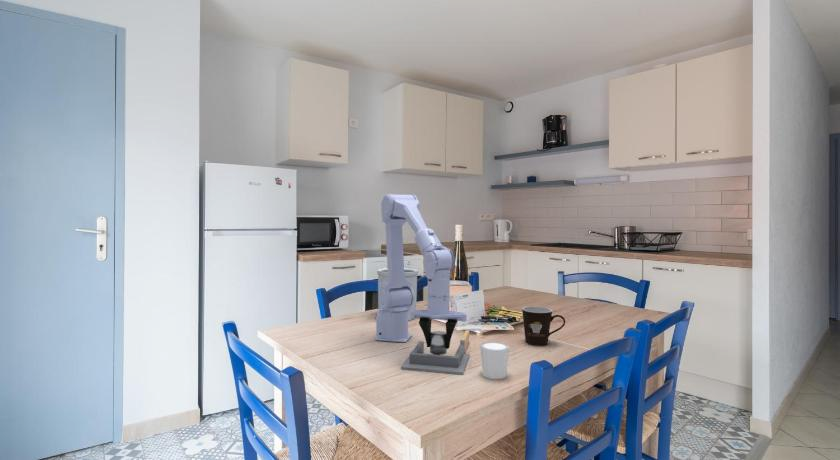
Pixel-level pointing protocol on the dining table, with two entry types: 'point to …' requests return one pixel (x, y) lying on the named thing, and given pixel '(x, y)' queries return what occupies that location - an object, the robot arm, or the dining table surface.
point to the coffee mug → (538, 324)
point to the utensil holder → (409, 275)
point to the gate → (465, 339)
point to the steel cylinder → (438, 343)
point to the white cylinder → (494, 359)
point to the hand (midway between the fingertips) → (438, 346)
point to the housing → (436, 361)
